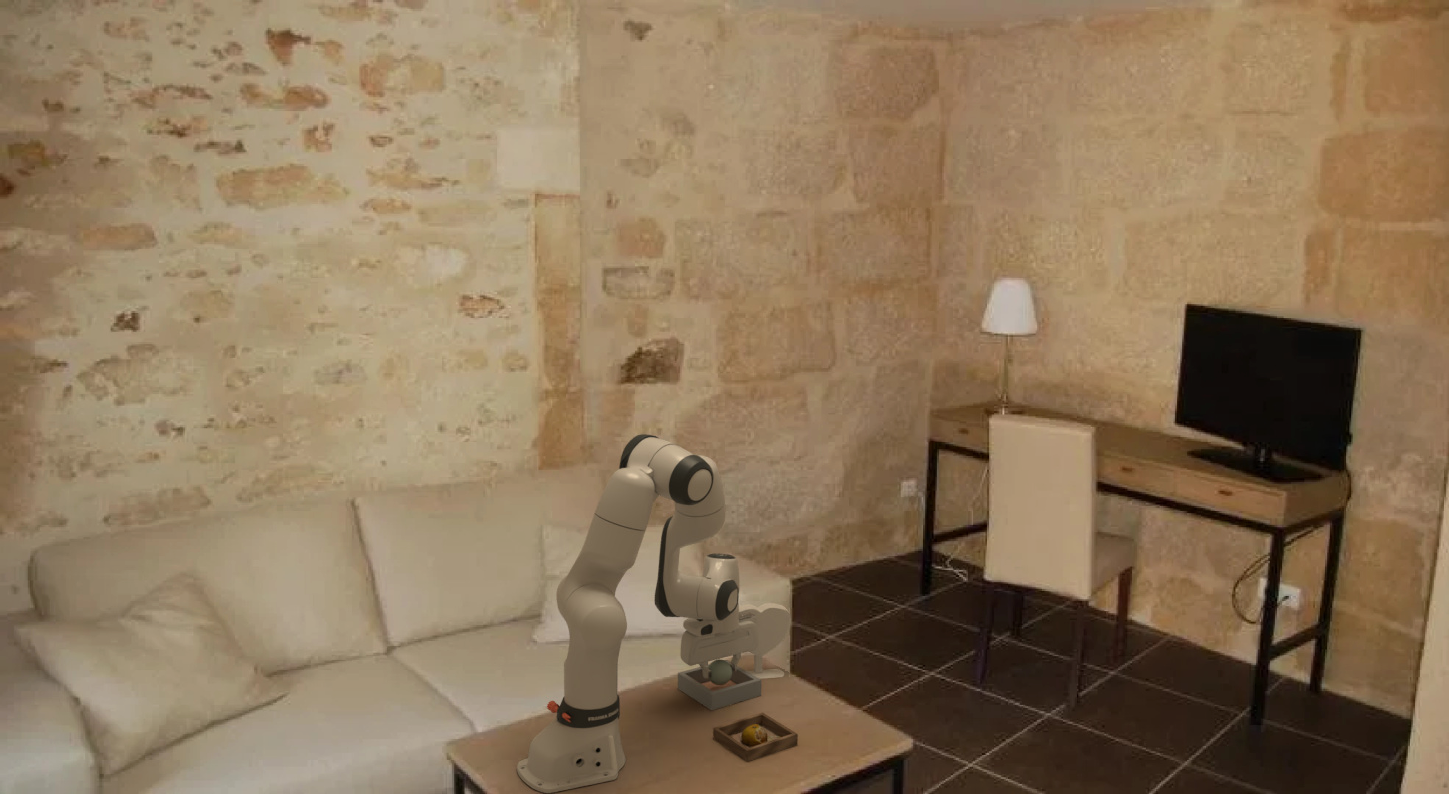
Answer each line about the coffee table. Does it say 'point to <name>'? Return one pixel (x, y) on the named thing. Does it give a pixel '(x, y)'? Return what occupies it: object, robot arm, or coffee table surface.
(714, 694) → the grey square tray
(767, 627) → the heart sculpture
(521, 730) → the coffee table surface
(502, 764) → the coffee table surface
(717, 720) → the coffee table surface
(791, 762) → the coffee table surface
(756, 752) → the fruit tray
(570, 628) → the robot arm
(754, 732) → the fruit
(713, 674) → the ball
